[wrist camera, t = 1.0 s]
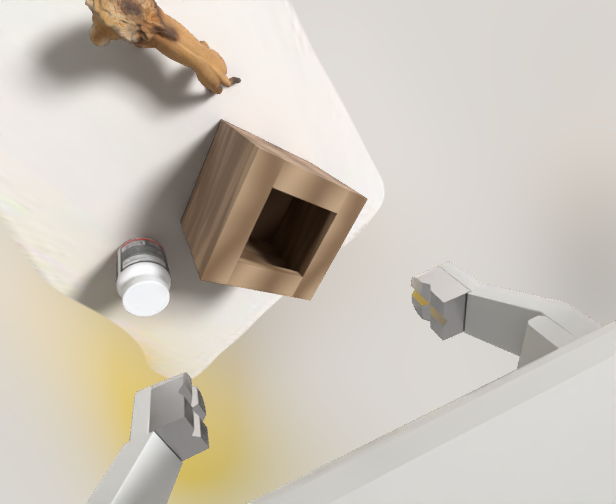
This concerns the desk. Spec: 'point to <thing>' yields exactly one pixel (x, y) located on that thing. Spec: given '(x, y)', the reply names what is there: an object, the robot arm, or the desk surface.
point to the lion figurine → (157, 37)
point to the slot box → (265, 216)
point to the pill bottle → (142, 277)
